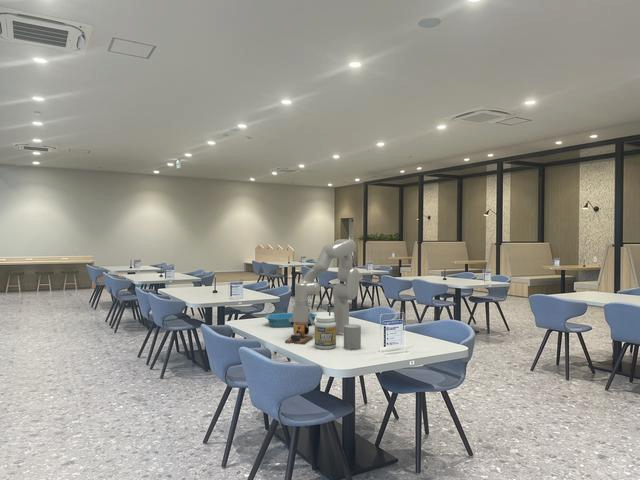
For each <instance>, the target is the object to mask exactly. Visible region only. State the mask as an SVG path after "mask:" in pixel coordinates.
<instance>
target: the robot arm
mask: <svg viewBox="0 0 640 480" xmlns="http://www.w3.org/2000/svg"><path fill="white" fill-rule="evenodd" d="M356 250H357V244H356V242H355V241H354V240H353V239H349V238H348V239H344V238H343V239H342V238H340V239H336V240H335V241H334V242H333V244H325V245H324V246H323V247H322V249H321V251H320V253H319V255H318V258H317V259H316V262H315V263H314V265H313V266H312V267H311V268H310V269H309V270H308V271H307V272H306V273H305V274H304V276H303V278H302V280H301V282H297V283H295V286H294V305H293V308H292V309H293V310H292V313H293V316H292V317H291V318H290V319H289V322H290V323H291V324H292V325H293V328H294V324H296V323H305V324H306V334H308V335H309V332H310V327H311V326H312V325H313V324H314V323H315V320H313V319H312V318H311V317H310V313H311V310H310V306H309V305H310V303H311V302H310V301H308V298H309V297H308V296H309V295H310V296H311V295H319V293H320V292H321V290H322V288H321V284H319V283H318V282H315V279H316V278H317V277H319V276H320V275H322V274H325V273H326V272H327V271H328V270H329V267H330V266H331V264H332V261H333V259H339V260H338V261H339V262H338V269H337V274H336V275H337V279H338V280H339V281H340V282H343V283H337V284H335V285H334V286H333V288H332V296H333V298H332V299H333V317H335V320H334V322H335V323H336V336H337V335H340V336H344V325H349V324H350V304H349V303H350V302H349V301H352V300H355V299H356V298H357V295H358V293H359V286H360V279H361V274H360V271H359V270H358V269H357V268H356V267H353V261H354V260H353V258H354V257H353V256H352V253H354V252H355V251H356ZM292 319H293V321H292ZM309 321H311V322H310V323H308V322H309ZM313 322H314V323H313ZM312 323H313V324H312ZM311 324H312V325H311Z"/></svg>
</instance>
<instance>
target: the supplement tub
mask: <svg viewBox="0 0 640 480" xmlns="http://www.w3.org/2000/svg"><path fill="white" fill-rule="evenodd" d="M334 320H335V317H334V315H333V316H332V315H317V316H316V317H315V321H314V344H313V345H314V347H315V348H316V349H320V350H331V349H335V348H336V346H337V334H336V323H335V322H334Z"/></svg>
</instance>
